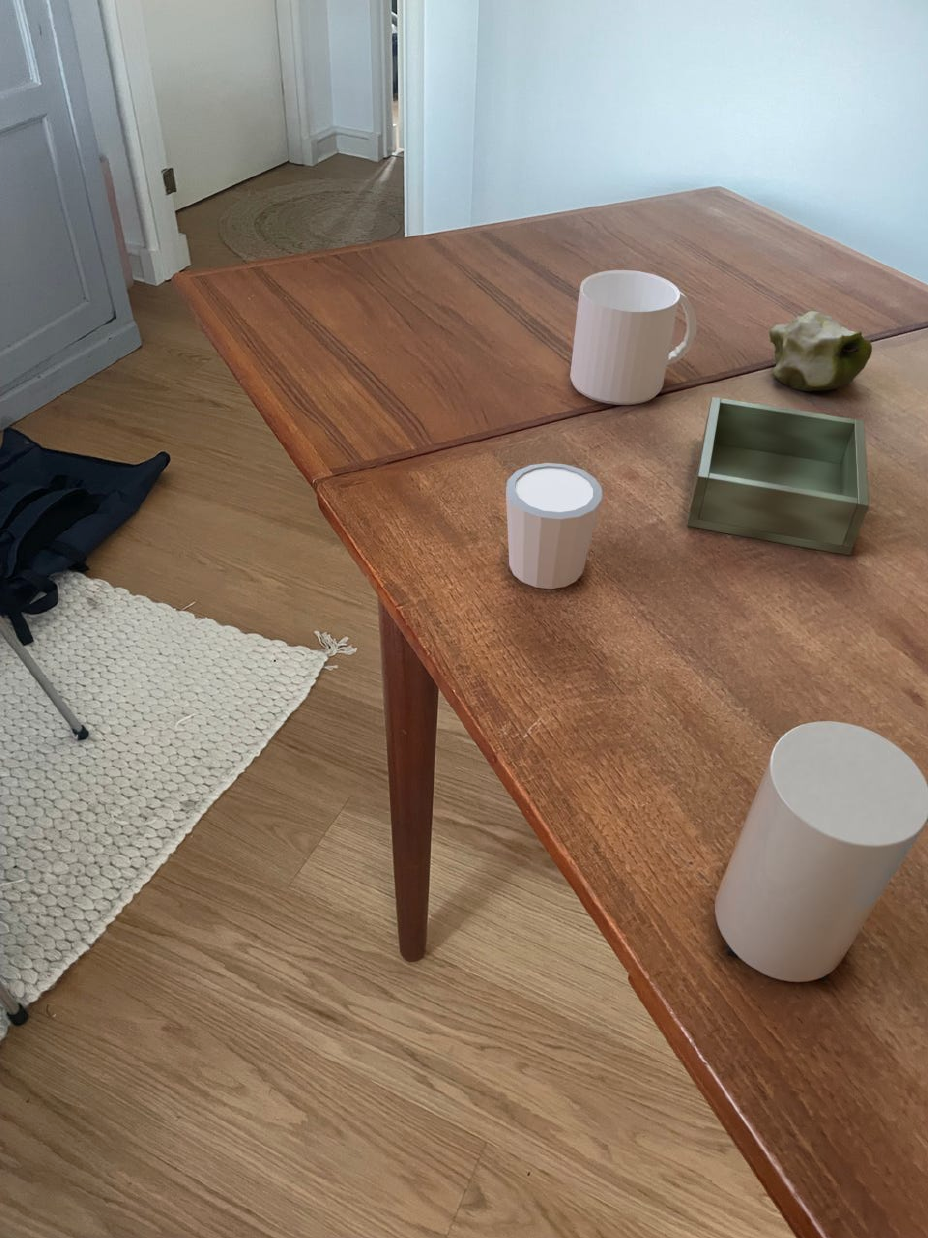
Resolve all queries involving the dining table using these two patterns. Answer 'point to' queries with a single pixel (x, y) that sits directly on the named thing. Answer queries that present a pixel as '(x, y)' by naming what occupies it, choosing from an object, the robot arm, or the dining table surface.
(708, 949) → the dining table surface
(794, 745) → the white cylinder
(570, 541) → the faceted white cup
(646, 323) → the mug
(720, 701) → the dining table surface
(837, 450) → the wooden box
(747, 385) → the dining table surface
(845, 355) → the fruit
